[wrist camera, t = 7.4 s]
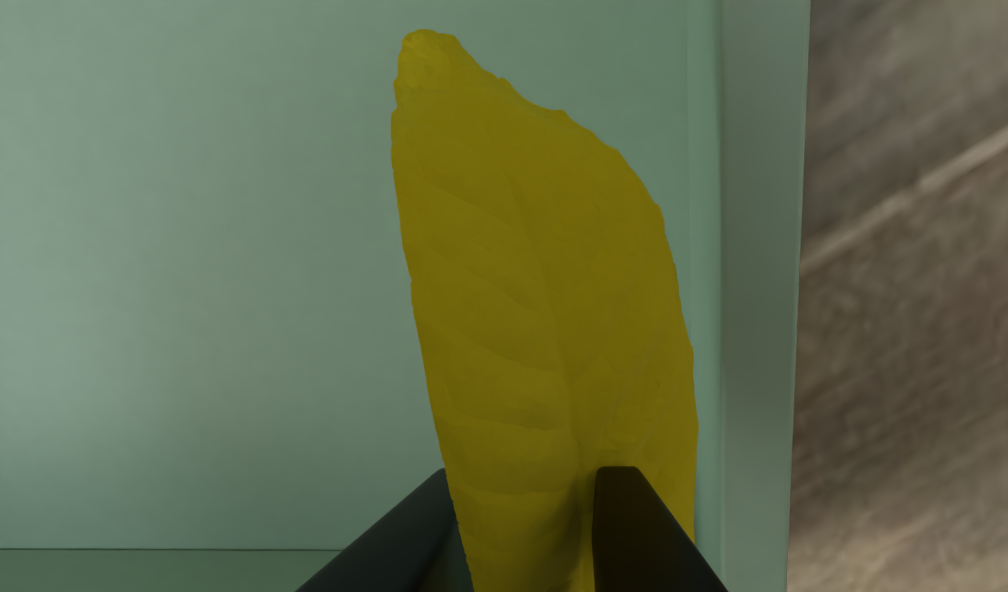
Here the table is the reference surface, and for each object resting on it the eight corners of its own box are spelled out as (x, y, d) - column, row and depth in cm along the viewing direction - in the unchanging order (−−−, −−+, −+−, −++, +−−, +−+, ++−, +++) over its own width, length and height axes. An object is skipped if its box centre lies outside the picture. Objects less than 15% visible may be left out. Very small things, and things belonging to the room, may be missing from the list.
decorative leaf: (736, 760, 11) (565, 991, 9) (613, 687, 12) (440, 871, 10) (675, -12, 8) (371, 60, 5) (513, 7, 9) (221, 70, 7)
